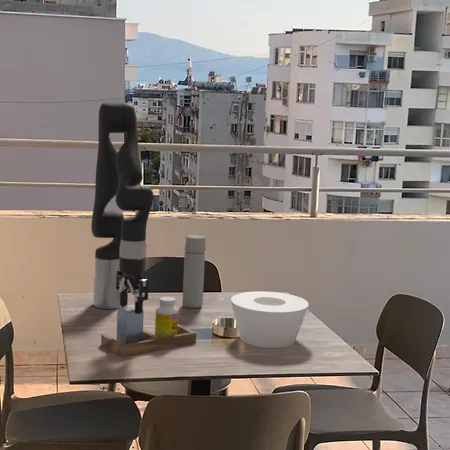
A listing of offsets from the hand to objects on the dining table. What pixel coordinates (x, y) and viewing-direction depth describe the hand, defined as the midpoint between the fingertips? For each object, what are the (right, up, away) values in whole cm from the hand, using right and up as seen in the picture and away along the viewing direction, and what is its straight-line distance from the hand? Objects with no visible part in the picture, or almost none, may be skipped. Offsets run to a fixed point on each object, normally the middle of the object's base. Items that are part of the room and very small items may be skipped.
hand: (130, 309), depth 210 cm
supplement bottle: (+9, -10, +9) cm, 16 cm away
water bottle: (+16, -4, +48) cm, 51 cm away
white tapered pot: (+40, -11, +15) cm, 44 cm away
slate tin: (-1, -11, +2) cm, 11 cm away
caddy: (+5, -11, +4) cm, 12 cm away
